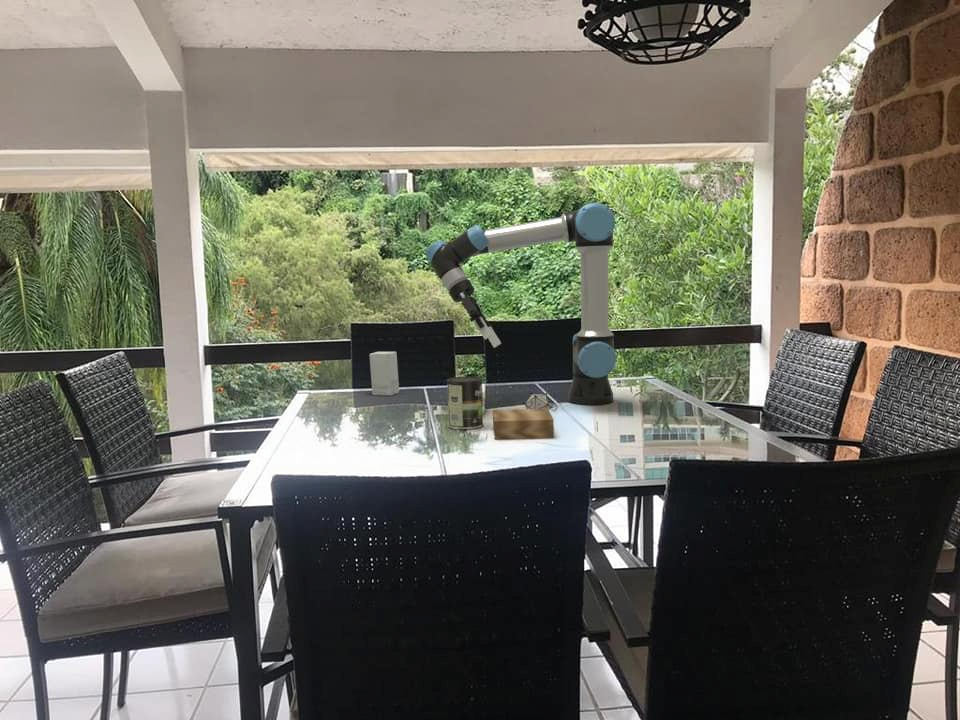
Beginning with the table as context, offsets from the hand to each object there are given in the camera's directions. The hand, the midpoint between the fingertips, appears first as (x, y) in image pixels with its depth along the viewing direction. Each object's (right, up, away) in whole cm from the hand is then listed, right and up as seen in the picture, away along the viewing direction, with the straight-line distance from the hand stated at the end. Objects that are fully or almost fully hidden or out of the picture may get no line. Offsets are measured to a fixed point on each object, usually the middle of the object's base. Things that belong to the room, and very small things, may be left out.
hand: (493, 341), depth 238 cm
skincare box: (-39, -18, +50) cm, 66 cm away
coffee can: (-8, -25, -8) cm, 28 cm away
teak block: (+8, -26, -18) cm, 32 cm away
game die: (+14, -24, 0) cm, 27 cm away
